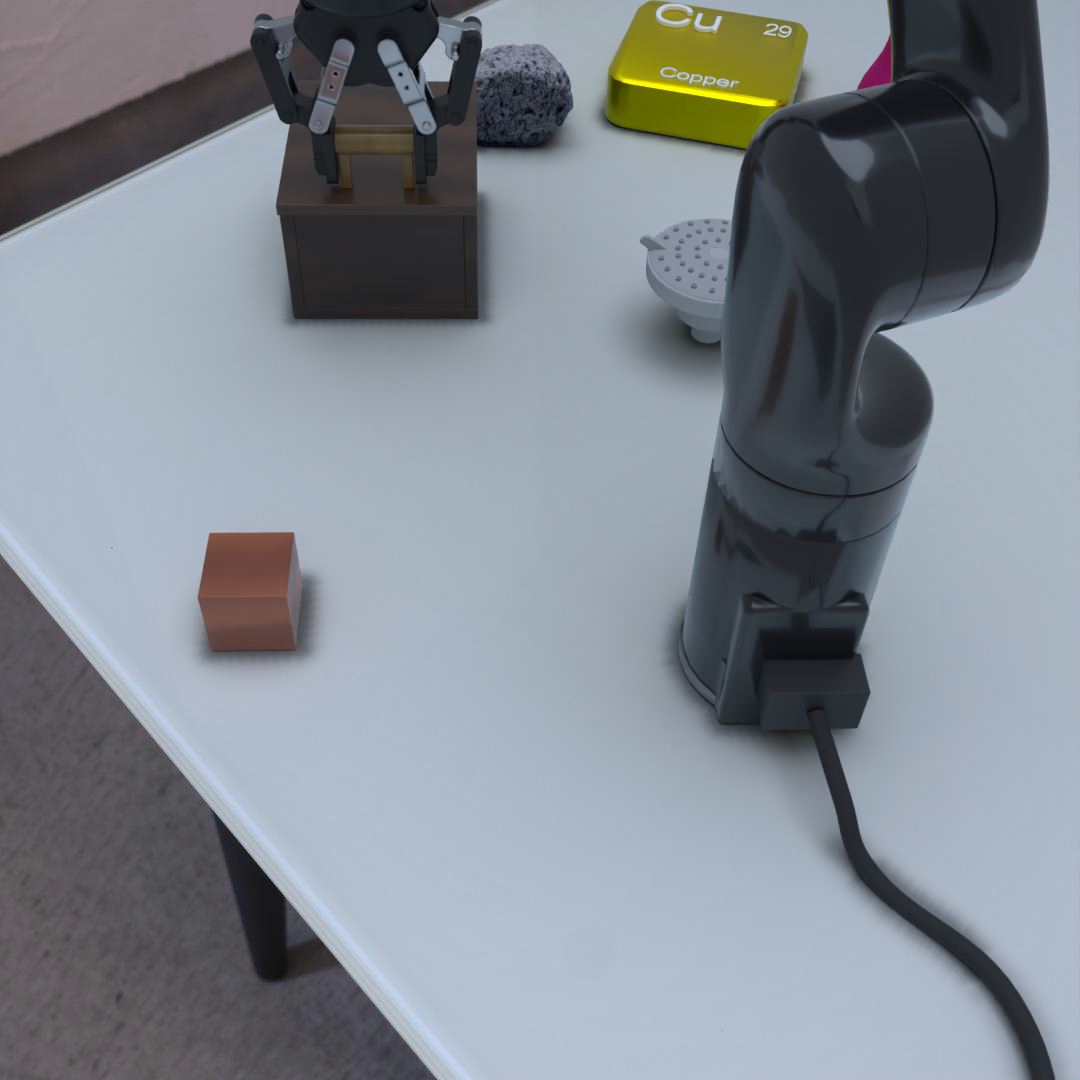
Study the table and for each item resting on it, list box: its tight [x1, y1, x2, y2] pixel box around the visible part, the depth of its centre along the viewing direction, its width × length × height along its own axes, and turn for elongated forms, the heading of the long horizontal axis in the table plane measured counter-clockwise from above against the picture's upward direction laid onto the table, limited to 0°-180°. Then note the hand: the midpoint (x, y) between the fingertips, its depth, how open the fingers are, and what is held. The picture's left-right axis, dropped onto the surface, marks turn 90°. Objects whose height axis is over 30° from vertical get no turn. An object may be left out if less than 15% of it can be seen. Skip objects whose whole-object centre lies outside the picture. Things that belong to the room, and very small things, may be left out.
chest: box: [279, 214, 479, 319], centre depth 93 cm, size 15×13×9 cm
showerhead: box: [639, 218, 732, 344], centre depth 89 cm, size 9×7×10 cm
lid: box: [275, 79, 478, 216], centre depth 87 cm, size 16×13×5 cm
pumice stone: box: [474, 43, 574, 148], centre depth 106 cm, size 10×8×10 cm
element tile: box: [604, 0, 809, 150], centre depth 111 cm, size 15×15×5 cm
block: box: [197, 531, 304, 652], centre depth 72 cm, size 5×5×5 cm
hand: (378, 176), depth 85 cm, fingers closed on lid, 5 cm apart
